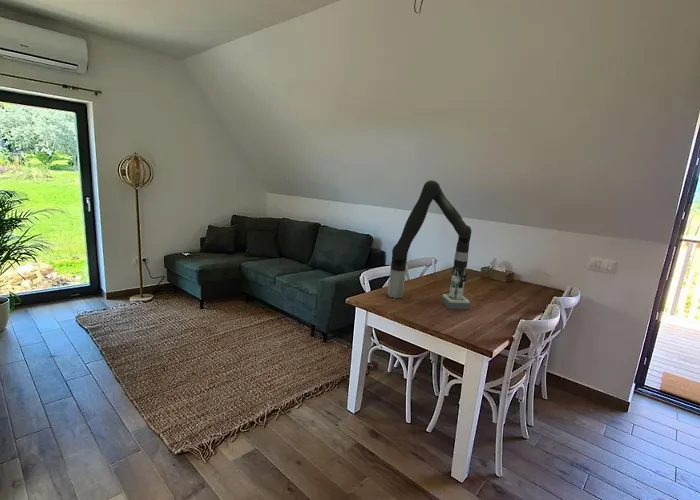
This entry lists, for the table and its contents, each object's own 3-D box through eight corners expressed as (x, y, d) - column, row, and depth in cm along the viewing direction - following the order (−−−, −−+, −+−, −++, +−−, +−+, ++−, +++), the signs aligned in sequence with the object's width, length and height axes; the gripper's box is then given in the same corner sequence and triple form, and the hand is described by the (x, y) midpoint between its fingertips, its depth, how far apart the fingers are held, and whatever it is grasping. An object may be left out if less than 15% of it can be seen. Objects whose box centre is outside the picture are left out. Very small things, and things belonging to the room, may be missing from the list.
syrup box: (448, 298, 224) (451, 275, 221) (455, 297, 226) (459, 274, 224) (454, 301, 219) (457, 277, 216) (462, 300, 221) (465, 277, 219)
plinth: (449, 309, 217) (450, 300, 216) (441, 302, 228) (442, 294, 227) (468, 309, 218) (469, 301, 217) (460, 302, 230) (461, 294, 229)
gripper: (450, 256, 224) (447, 282, 227) (459, 261, 210) (456, 289, 213) (462, 256, 225) (458, 282, 228) (472, 262, 211) (468, 289, 214)
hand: (457, 285), depth 221 cm, fingers open, 8 cm apart
